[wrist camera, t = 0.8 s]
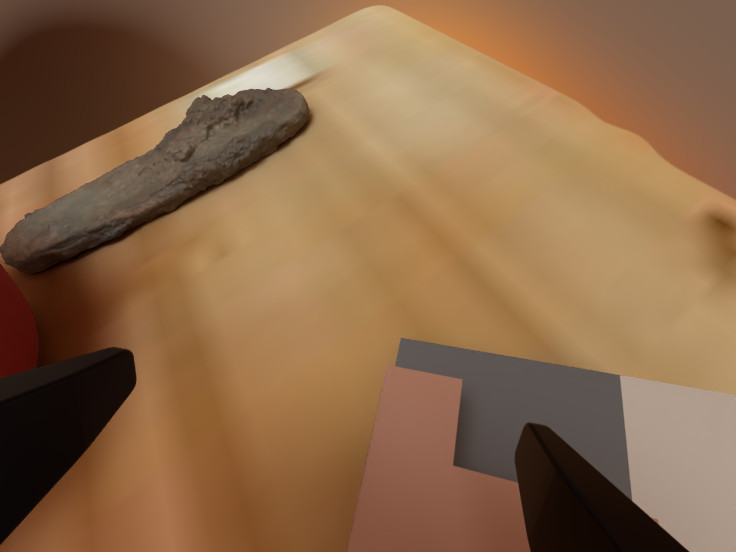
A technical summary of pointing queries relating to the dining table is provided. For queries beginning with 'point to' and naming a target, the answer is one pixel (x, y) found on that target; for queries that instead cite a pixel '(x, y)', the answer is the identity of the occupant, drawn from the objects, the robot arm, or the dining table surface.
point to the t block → (429, 478)
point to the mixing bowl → (16, 330)
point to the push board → (601, 433)
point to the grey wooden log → (159, 176)
